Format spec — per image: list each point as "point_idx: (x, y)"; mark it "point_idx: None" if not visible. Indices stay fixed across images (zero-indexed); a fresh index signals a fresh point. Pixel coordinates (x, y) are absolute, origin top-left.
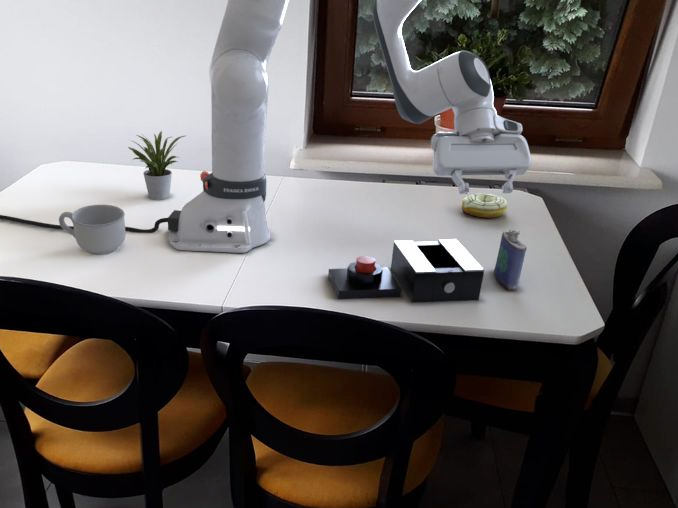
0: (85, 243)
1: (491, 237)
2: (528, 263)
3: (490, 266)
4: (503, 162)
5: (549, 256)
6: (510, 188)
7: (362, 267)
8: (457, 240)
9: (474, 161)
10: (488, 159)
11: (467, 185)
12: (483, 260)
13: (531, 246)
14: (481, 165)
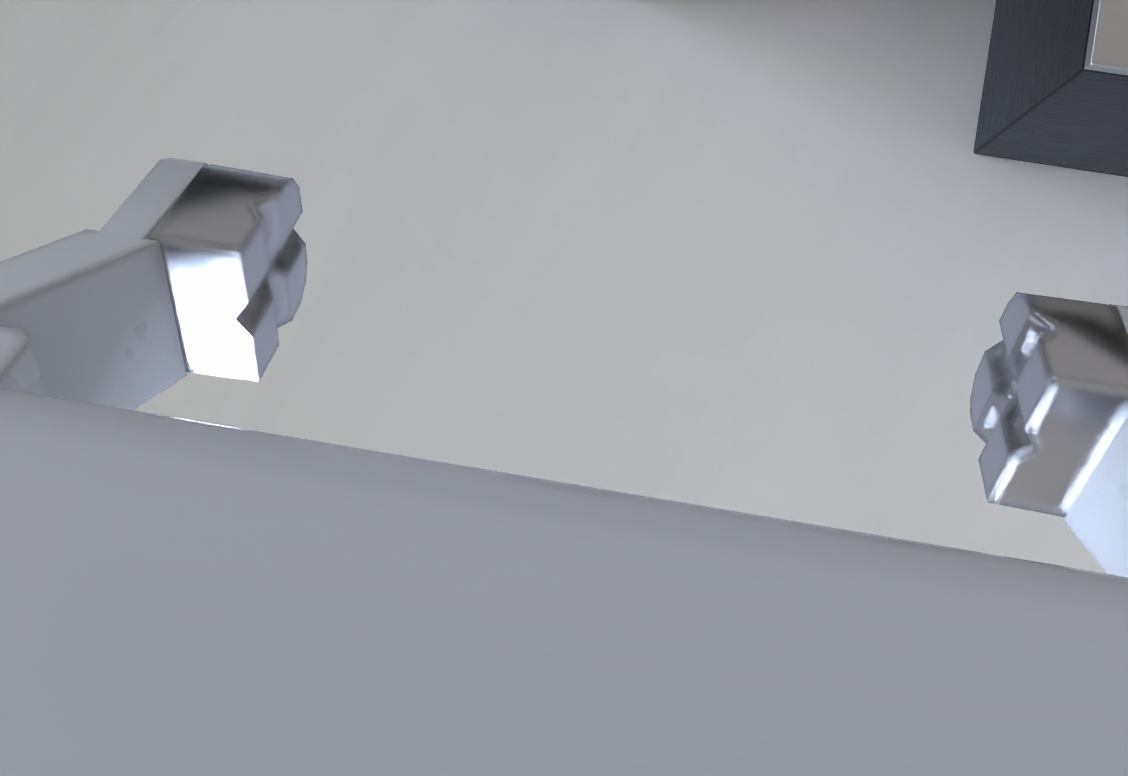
0: None
1: None
2: (273, 86)
3: (626, 104)
4: (36, 485)
5: (6, 175)
6: (208, 169)
7: None
8: (1097, 25)
9: (988, 687)
10: (479, 661)
11: (1068, 343)
12: (617, 231)
13: None
14: (762, 541)
